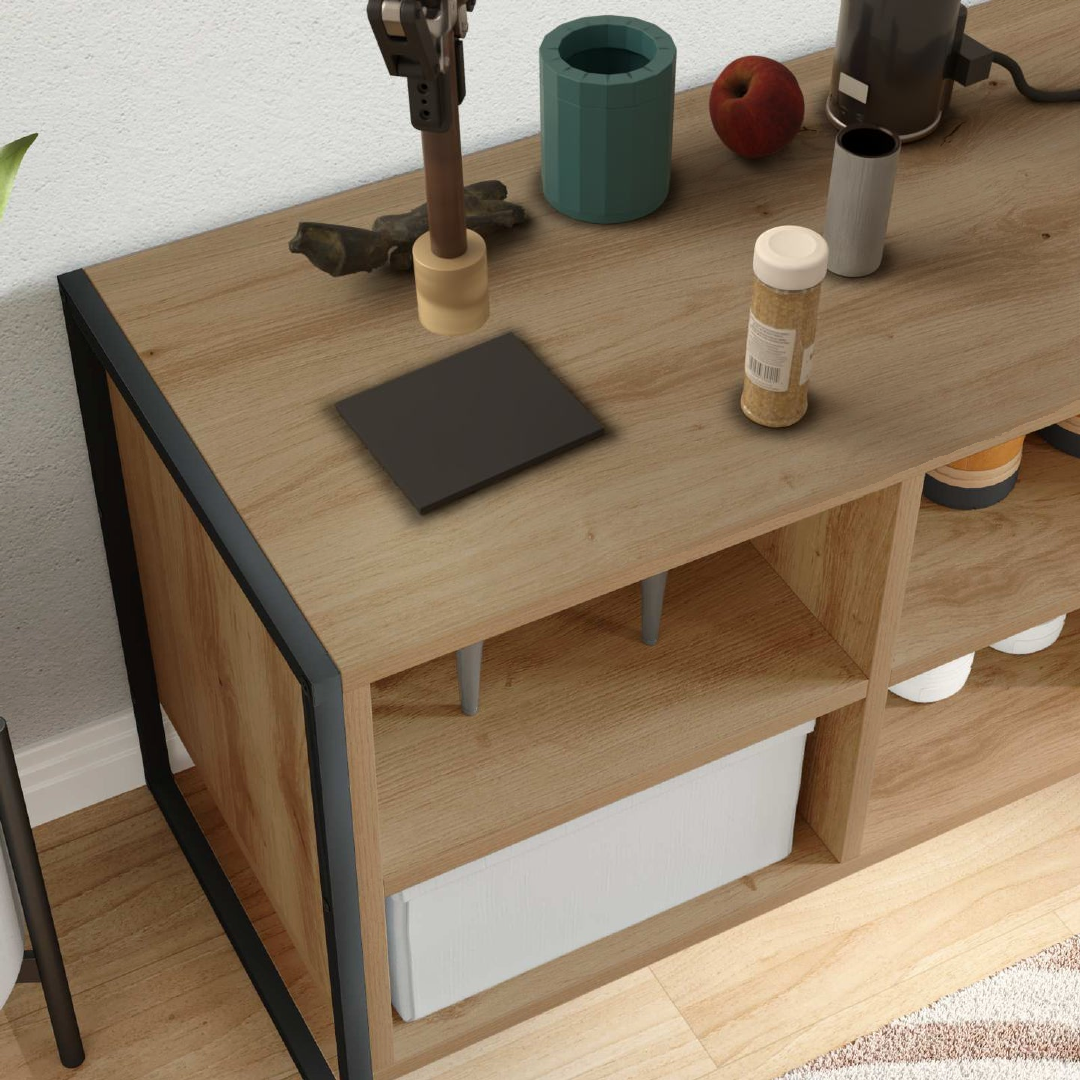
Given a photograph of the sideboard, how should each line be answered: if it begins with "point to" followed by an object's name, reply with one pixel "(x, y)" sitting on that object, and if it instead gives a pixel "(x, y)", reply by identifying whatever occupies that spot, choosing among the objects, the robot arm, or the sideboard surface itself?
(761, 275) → the spice bottle
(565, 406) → the mat
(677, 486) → the sideboard surface
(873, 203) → the grey hollow cylinder
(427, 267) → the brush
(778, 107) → the apple
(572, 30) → the jar
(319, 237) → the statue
